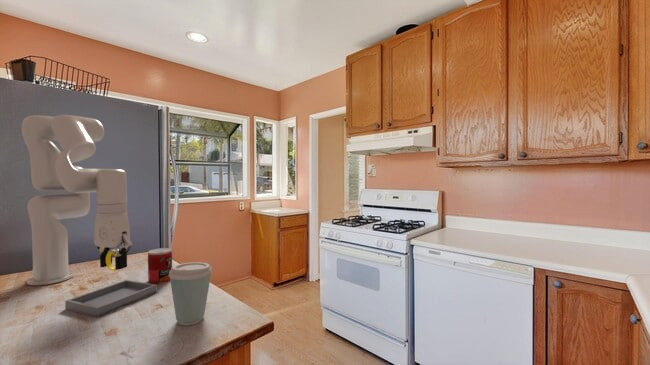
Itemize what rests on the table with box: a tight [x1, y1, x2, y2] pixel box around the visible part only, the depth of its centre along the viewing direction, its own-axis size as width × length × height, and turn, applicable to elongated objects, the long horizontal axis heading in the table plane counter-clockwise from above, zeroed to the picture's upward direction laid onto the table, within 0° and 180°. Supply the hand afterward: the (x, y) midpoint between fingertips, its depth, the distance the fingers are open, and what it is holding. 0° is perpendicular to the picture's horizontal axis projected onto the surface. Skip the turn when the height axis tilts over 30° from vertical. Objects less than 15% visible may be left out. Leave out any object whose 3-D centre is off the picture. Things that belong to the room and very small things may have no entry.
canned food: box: [147, 247, 173, 284], centre depth 107 cm, size 8×8×11 cm
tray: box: [64, 279, 158, 318], centre depth 90 cm, size 14×18×2 cm
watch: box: [106, 249, 117, 271], centre depth 89 cm, size 6×3×6 cm, turn 65°
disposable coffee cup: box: [169, 261, 213, 326], centre depth 77 cm, size 11×11×15 cm
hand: (113, 266), depth 89 cm, fingers closed on watch, 6 cm apart
